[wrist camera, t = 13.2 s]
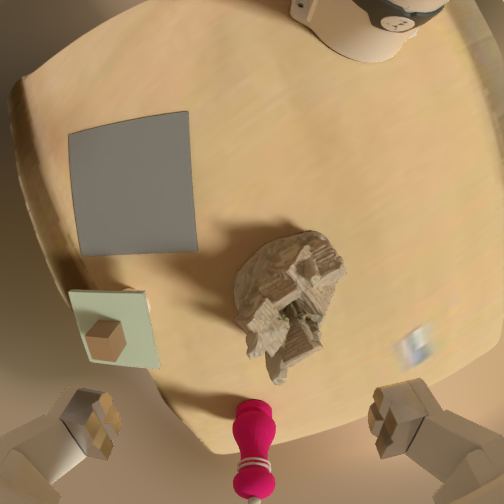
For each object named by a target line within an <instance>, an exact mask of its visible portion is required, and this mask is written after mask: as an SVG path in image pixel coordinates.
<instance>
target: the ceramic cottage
mask: <svg viewBox="0 0 504 504" xmlns="http://www.w3.org/2000/svg"><path fill="white" fill-rule="evenodd" d="M346 274H347V272H346V268H345V267H344V266H343V259H342V257H340V256H338V253H337V252H336V250H335V249H333V246H332V245H331V243H330V242H329V240H328V239H327V238H326V237H325V235H323V234H321V233H319V232H317V231H309V232H304V233H300V234H295V235H291V236H288V237H284V238H283V237H282V238H280V239H276V240H273V241H270V242H268V243H265V244H264V245H263V246H262V247H261V248H260V249H259V250H257V252H256V253H255V254H254V255H253V256H252V257H250V258H249V259H248V260H247V261H246V262H245V264H244V265H243V266H242V267H241V269H240V270H239V271H238V273H237V275H236V277H235V281H234V300H235V306H236V309H237V311H238V315H237V316H236V317H235V319H234V320H235V321H236V323H237V324H238V325H239V326H240V327H241V328H242V329H243V330H244V331H245V333H246V334H247V336H246V343H247V346H248V349H247V353H246V354H247V355H248V357H249V358H250V359H253V358H255V357H257V356H261V355H262V354H263V353H264V351H265V358H266V367H267V370H268V372H269V376H270V379H271V380H272V382H273V383H274V384H275V385H281V384H282V383H284V382H285V381H286V378H287V368H288V367H292V366H294V365H295V364H296V363H298V362H300V361H301V360H302V359H304V358H306V357H308V356H310V355H311V354H313V353H314V352H316V351H319V350H320V349H321V348H322V347H323V346H322V344H321V343H320V338H321V335H322V334H321V332H320V331H319V329H320V327H321V324H322V320H323V318H324V317H325V315H326V311H327V308H328V306H329V304H330V301H331V300H332V299H333V296H334V291H335V287H336V284H337V283H338V280H339V279H341V278H342V277H344V276H345V275H346Z"/></svg>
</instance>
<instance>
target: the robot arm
mask: <svg viewBox="0 0 504 504" xmlns="http://www.w3.org/2000/svg"><path fill="white" fill-rule="evenodd" d="M449 1H450V0H292V1H291V8H290V15H291V16H292V18H294V19H295V20H296V21H298V22H300V23H302V24H304V25H306V26H308V27H309V28H310V29H312V30H313V31H314V32H315V34H316V35H317V36H318V37H319V38H320V39H321V40H322V41H323V42H324V43H325V44H326V45H328V46H329V47H330V48H331V49H333V50H334V51H336V52H338V53H339V54H341V55H343V56H346V57H348V58H351V59H353V60H357V61H361V62H369V63H375V62H382V61H386V60H388V59H390V58H392V57H393V56H395V55H396V54H397V53H398V52H399V50H400V49H401V47H402V45H403V44H404V43H405V42H406V41H407V40H410V39H412V38H413V37H414V36H415V35H416V34H417V33H418V30H417V29H418V28H419V27H420V26H421V25H423V24H425V23H426V22H427V21H429V20H430V19H432V18H433V17H435V16H437V15H438V13H439V12H441V10H442V9H443V8H444V5H445V4H446V3H447V2H449ZM298 5H301V6H303V7H299V6H298ZM373 398H374V401H375V402H374V403H373V404H372V405H371V406H370V408H369V412H368V424H369V428H370V431H371V433H372V434H373V435H375V436H376V437H378V438H377V441H376V443H375V445H376V447H377V450H378V453H379V455H380V458H381V459H385V458H389V457H393V456H397V455H401V454H405V453H406V455H407V456H408V457H409V458H411V459H412V460H413V461H415V462H416V463H417V464H419V465H420V466H421V467H423V468H424V469H425V470H427V471H428V472H429V473H431V474H432V475H433V476H435V477H436V478H438V479H439V480H440V481H442V482H443V483H444V484H443V485H442V486H441V487H440V488H439V489H438V490H437V492H436V493H435V494H434V496H433V499H434V502H435V504H504V438H503V436H502V435H500V434H498V433H496V432H493V431H491V430H489V429H487V428H485V427H482V426H480V425H478V424H476V423H474V422H472V421H470V420H467V419H465V418H463V417H461V416H459V415H457V414H455V413H453V412H451V411H449V410H445V411H443V410H442V408H441V406H440V405H439V404H438V402H437V400H436V399H435V397H434V396H433V394H432V393H431V391H430V390H429V388H428V387H427V385H426V384H425V382H424V381H423V379H421V378H417V379H413V380H409V381H406V382H401V383H396V384H392V385H387V386H382V387H377V388H376V389H375V391H374V394H373ZM112 402H113V400H112V398H111V396H110V394H108V393H106V392H100V391H95V390H91V389H86V388H80V387H75V386H71V385H70V386H68V387H66V388H65V389H64V391H63V392H62V394H61V395H60V397H59V398H58V400H57V401H56V402H55V404H54V405H53V407H52V408H51V410H50V412H49V413H48V414H47V416H46V415H42V416H40V417H38V418H36V419H34V420H32V421H30V422H28V423H26V424H24V425H22V426H21V427H18V428H16V429H14V430H12V431H10V432H8V433H6V434H4V435H2V436H0V504H58V502H59V500H60V498H61V495H60V493H59V492H58V491H57V490H56V489H55V488H54V487H53V486H52V485H51V484H52V483H54V482H55V481H56V480H58V479H59V478H60V477H61V476H63V475H64V474H65V473H67V472H68V471H69V470H70V469H72V468H73V467H74V466H75V465H77V464H78V463H79V462H80V461H82V460H83V459H84V458H85V457H86V456H90V457H94V458H98V459H103V460H108V458H109V456H110V454H111V451H112V449H113V447H114V445H113V443H112V440H113V439H114V438H116V437H117V436H118V434H119V432H120V427H121V419H120V415H119V413H118V411H117V410H116V409H115V408H114V407H113V406H112V405H111V404H112Z"/></svg>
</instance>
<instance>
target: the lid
mask: <svg viewBox="0 0 504 504" xmlns="http://www.w3.org/2000/svg"><path fill="white" fill-rule="evenodd" d="M68 293H69V297H70V301H71V304H72V308H73V311H74V315H75V318H76V321H77V325H78V328H79V331H80V334H81V337H82V340H83V343H84V346H85V349H86V352H87V354H88V357H89V360H90V361H91V362H96V363H103V364H112V365H120V366H130V367H141V368H151V369H160V367H161V363H160V359H159V355H158V351H157V346H156V342H155V338H154V333H153V329H152V324H151V319H150V314H149V309H148V304H147V299H146V293H145V291H115V290H73V289H71V290H70V291H69V292H68Z"/></svg>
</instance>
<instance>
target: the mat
mask: <svg viewBox="0 0 504 504" xmlns="http://www.w3.org/2000/svg"><path fill="white" fill-rule="evenodd" d="M69 158H70V172H71V184H72V194H73V202H74V210H75V218H76V224H77V231H78V237H79V242H80V248H81V253H82V257H85V256H106V255H126V254H148V253H169V252H191V251H198V244H197V233H196V222H195V211H194V198H193V185H192V170H191V154H190V135H189V112H188V111H186V112H178V113H171V114H164V115H157V116H151V117H145V118H140V119H134V120H129V121H124V122H119V123H114V124H110V125H105V126H101V127H97V128H93V129H89V130H85V131H81V132H77V133H74V134H70V135H69Z"/></svg>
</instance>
